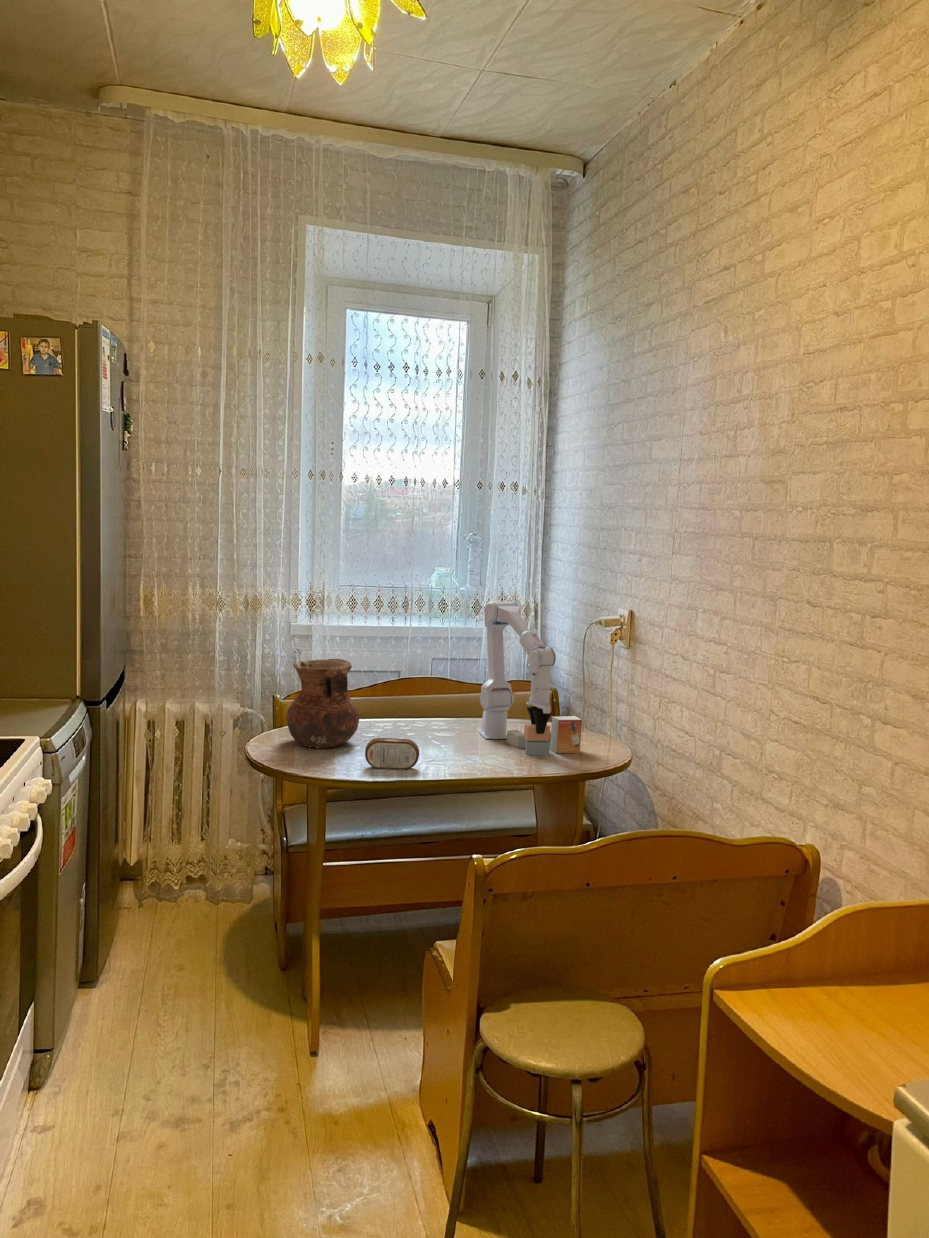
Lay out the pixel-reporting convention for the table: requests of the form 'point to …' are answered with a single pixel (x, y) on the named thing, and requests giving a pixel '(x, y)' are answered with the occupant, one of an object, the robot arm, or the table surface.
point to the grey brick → (516, 738)
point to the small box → (566, 734)
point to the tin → (392, 753)
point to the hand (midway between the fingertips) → (538, 732)
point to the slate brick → (537, 747)
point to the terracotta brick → (535, 733)
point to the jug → (323, 705)
